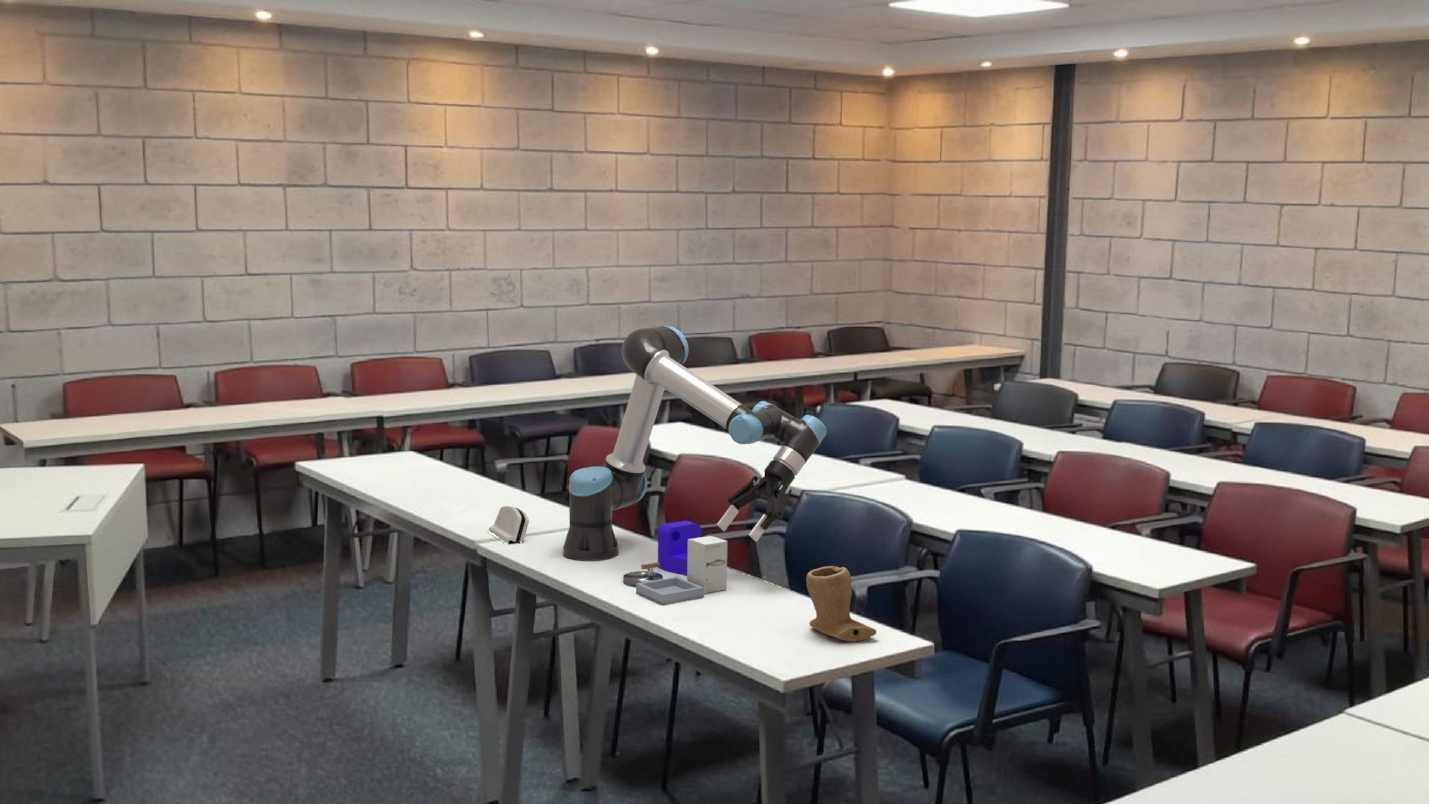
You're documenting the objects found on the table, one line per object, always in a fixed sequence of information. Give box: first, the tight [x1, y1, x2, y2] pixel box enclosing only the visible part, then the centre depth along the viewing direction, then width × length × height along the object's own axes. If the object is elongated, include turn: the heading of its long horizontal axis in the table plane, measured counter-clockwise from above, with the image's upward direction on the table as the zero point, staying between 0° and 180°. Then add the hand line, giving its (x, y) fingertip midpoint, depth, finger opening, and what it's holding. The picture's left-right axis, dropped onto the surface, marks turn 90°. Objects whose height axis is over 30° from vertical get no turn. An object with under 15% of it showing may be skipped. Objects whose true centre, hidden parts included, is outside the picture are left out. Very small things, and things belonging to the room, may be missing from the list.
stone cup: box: [806, 565, 878, 643], centre depth 284 cm, size 15×12×15 cm
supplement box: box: [686, 535, 728, 595], centre depth 320 cm, size 7×7×13 cm
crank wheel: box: [622, 561, 664, 588], centre depth 326 cm, size 10×10×6 cm
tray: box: [635, 576, 705, 606], centre depth 315 cm, size 12×12×2 cm
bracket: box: [657, 520, 703, 577], centre depth 336 cm, size 18×11×12 cm, turn 37°
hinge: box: [488, 505, 530, 544], centre depth 372 cm, size 17×5×10 cm, turn 29°
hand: (736, 533), depth 323 cm, fingers open, 13 cm apart
